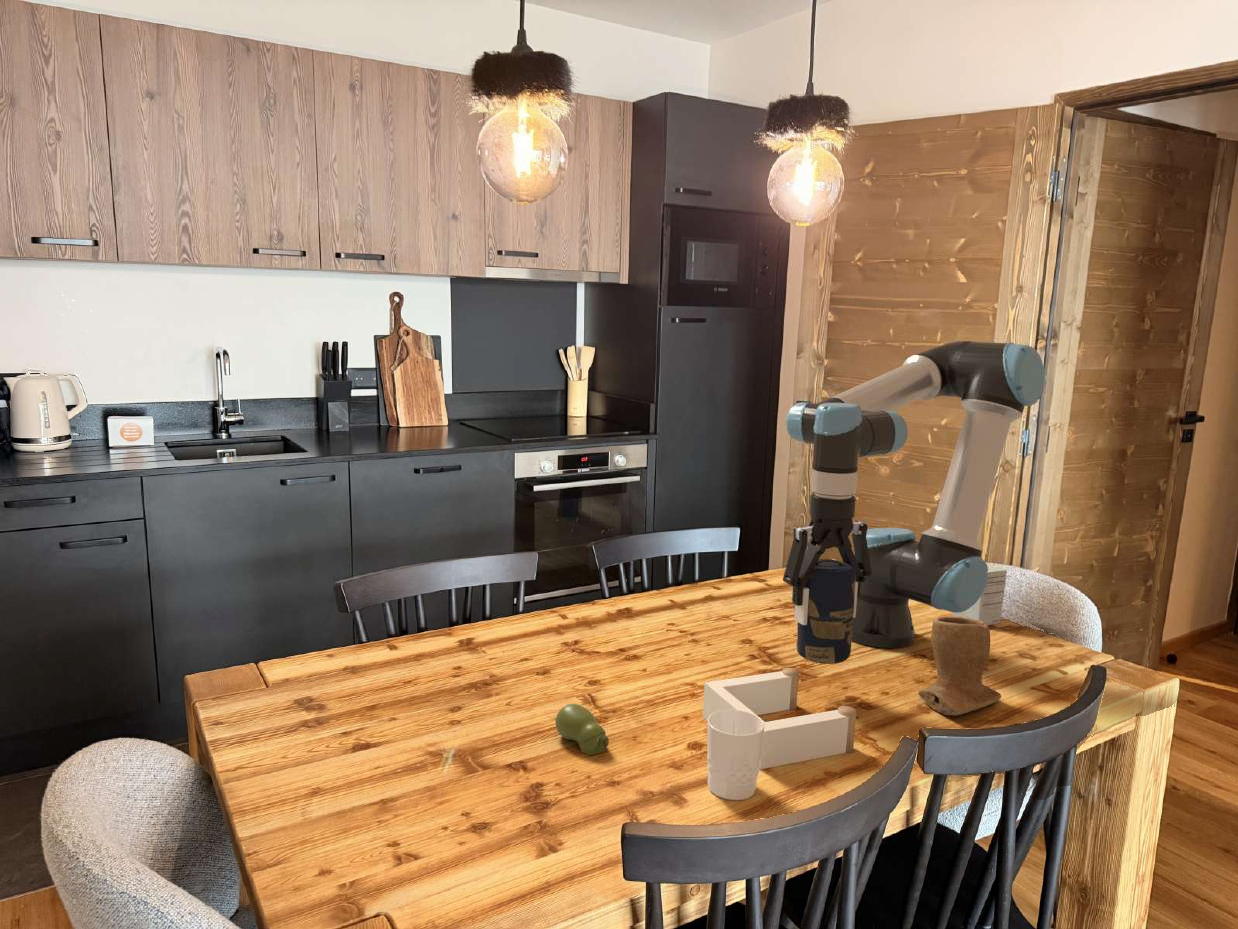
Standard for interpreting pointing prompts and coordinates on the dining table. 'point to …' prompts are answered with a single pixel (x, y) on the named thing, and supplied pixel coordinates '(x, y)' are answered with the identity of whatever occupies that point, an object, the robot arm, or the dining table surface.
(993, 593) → the supplement box
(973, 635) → the stone cup
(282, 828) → the dining table surface
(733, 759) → the white cup
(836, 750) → the bracket
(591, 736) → the pear
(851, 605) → the canister
